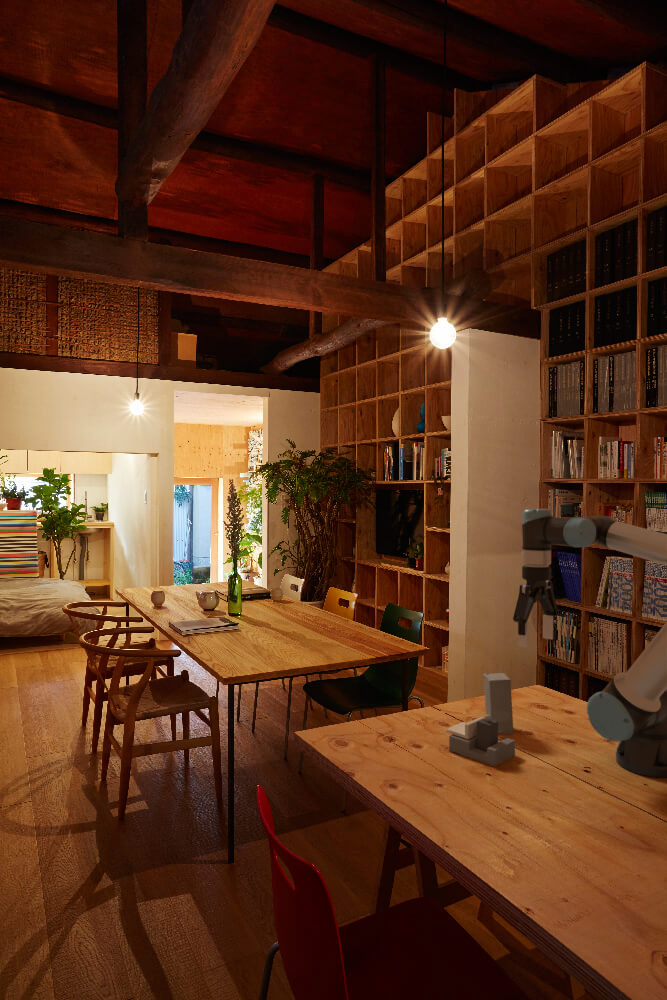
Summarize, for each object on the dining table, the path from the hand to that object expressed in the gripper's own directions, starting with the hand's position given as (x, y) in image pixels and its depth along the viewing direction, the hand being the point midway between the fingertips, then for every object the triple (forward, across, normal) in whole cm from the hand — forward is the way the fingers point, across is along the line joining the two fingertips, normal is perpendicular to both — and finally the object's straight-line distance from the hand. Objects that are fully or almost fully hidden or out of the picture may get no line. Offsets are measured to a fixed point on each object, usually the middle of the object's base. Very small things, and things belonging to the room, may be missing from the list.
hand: (535, 642), depth 176 cm
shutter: (+24, +14, -13) cm, 31 cm away
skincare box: (+29, -4, -14) cm, 32 cm away
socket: (+29, +14, -8) cm, 33 cm away
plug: (+28, +14, -6) cm, 32 cm away
